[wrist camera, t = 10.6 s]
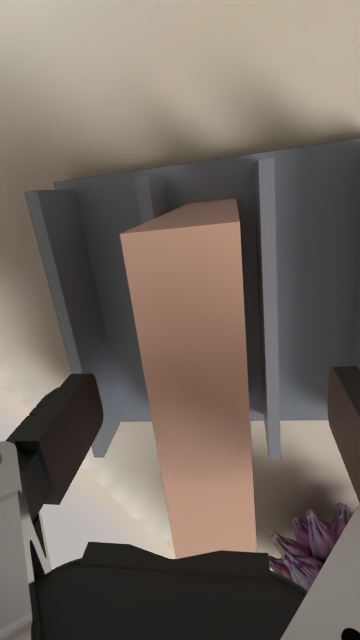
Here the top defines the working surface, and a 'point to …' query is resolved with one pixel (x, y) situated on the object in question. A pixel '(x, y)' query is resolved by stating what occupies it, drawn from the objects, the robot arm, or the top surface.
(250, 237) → the rack
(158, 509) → the top surface
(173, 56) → the top surface
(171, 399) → the tall peach block
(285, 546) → the flower
